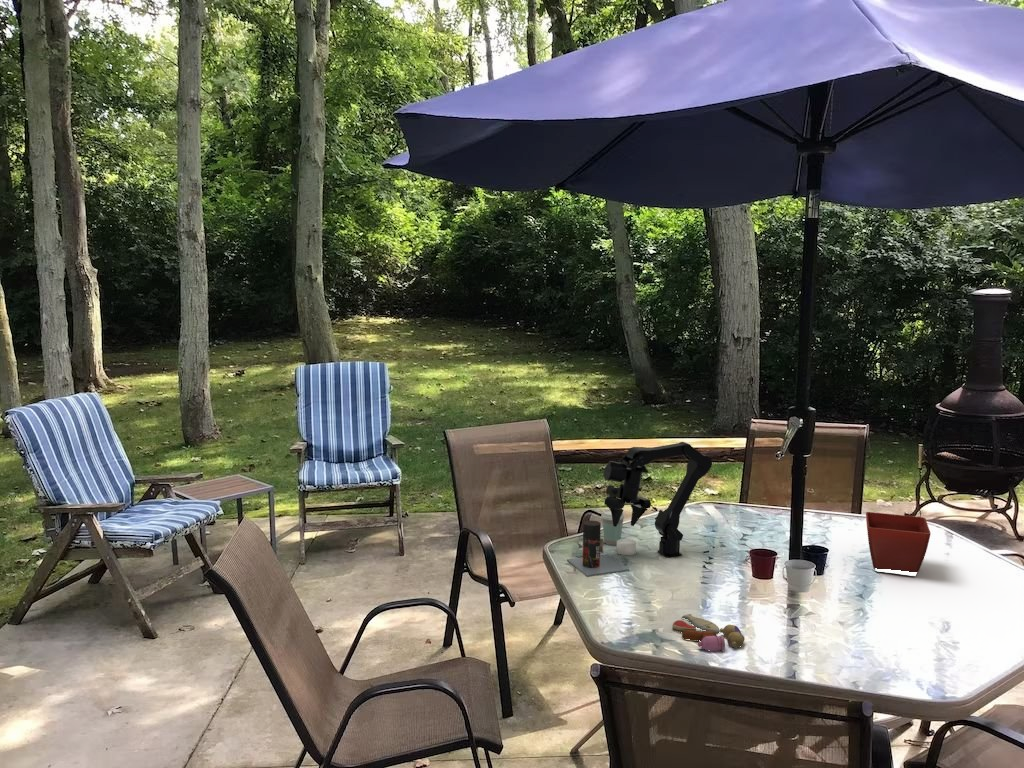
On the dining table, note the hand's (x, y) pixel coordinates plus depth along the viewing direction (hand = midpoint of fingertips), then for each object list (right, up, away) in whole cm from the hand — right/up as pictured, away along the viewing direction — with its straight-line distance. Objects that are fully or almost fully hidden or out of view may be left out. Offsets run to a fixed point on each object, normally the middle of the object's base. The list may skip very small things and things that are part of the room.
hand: (623, 526), depth 286 cm
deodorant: (-12, -13, -7) cm, 19 cm away
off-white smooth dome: (+2, -11, +8) cm, 14 cm away
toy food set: (+15, -21, -61) cm, 66 cm away
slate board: (-10, -13, -6) cm, 17 cm away
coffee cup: (-2, -10, +19) cm, 21 cm away
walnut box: (-10, -11, +9) cm, 17 cm away
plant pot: (+92, -14, -7) cm, 94 cm away
